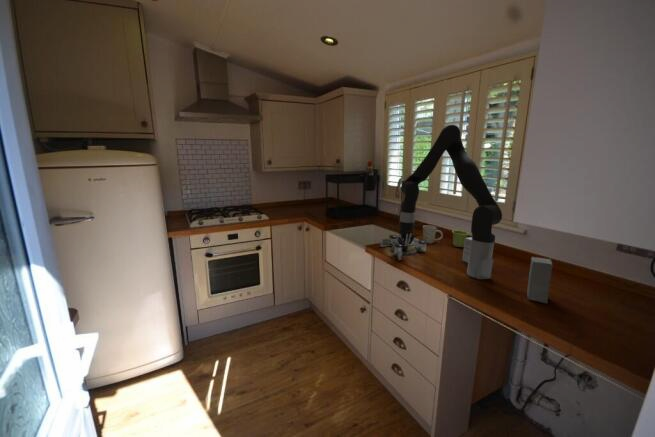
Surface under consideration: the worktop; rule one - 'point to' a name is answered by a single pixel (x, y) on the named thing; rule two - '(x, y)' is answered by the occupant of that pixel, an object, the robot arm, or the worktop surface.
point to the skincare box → (539, 279)
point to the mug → (430, 233)
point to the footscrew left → (398, 251)
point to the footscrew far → (388, 241)
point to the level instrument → (410, 250)
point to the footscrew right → (420, 245)
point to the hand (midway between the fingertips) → (404, 252)
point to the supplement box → (466, 249)
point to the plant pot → (459, 238)
